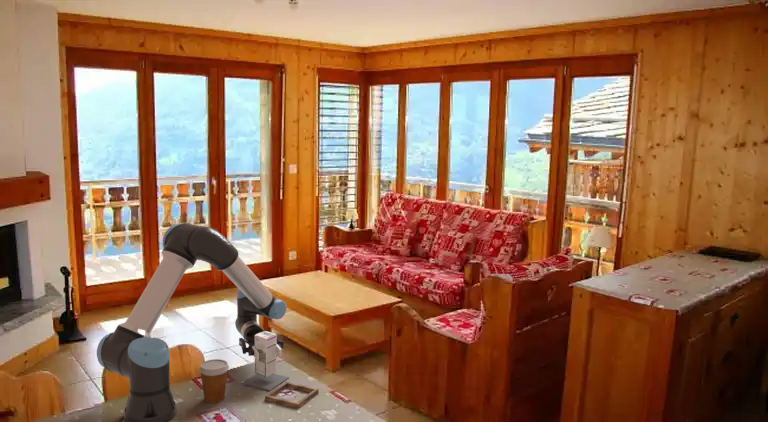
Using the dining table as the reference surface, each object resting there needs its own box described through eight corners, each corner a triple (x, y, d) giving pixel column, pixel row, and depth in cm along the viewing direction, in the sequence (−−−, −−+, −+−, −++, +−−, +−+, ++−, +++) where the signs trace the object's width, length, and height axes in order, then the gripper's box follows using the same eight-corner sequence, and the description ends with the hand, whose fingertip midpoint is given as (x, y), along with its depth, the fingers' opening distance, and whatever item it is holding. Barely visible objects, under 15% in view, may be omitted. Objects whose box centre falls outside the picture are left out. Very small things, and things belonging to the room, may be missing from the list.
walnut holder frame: (264, 400, 196) (264, 396, 196) (286, 385, 208) (286, 381, 208) (298, 408, 191) (298, 404, 191) (318, 393, 203) (318, 388, 203)
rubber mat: (241, 384, 208) (241, 383, 208) (261, 372, 219) (261, 371, 219) (269, 391, 203) (269, 389, 203) (288, 378, 214) (288, 377, 214)
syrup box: (277, 372, 212) (277, 333, 210) (265, 377, 207) (265, 337, 205) (265, 368, 215) (265, 330, 213) (253, 373, 210) (253, 334, 208)
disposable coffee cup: (220, 406, 191) (220, 371, 189) (193, 403, 193) (193, 368, 191) (234, 394, 200) (234, 360, 199) (208, 391, 202) (207, 357, 201)
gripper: (279, 339, 231) (297, 360, 210) (226, 347, 222) (240, 369, 201) (279, 321, 230) (297, 340, 209) (226, 327, 221) (240, 348, 200)
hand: (269, 354), depth 205 cm, fingers closed on syrup box, 7 cm apart
